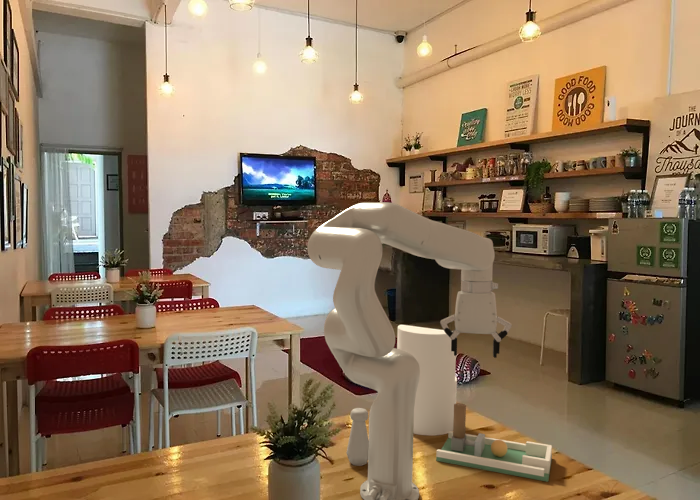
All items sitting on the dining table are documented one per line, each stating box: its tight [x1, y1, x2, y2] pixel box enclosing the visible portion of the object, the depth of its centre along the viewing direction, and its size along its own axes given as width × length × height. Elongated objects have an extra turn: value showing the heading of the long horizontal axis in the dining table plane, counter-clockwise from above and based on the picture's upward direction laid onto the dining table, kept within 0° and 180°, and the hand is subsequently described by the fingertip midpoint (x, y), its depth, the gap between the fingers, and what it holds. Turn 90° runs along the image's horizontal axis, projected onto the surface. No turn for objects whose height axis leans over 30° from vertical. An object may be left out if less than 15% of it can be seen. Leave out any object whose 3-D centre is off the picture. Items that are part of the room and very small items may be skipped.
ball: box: [491, 439, 508, 457], centre depth 140 cm, size 4×4×4 cm
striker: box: [451, 402, 486, 457], centre depth 142 cm, size 6×8×11 cm
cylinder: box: [396, 324, 458, 436], centre depth 163 cm, size 17×17×28 cm
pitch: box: [435, 431, 553, 483], centre depth 140 cm, size 14×26×4 cm, turn 67°
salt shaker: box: [346, 407, 369, 467], centre depth 137 cm, size 6×6×13 cm
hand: (474, 355), depth 141 cm, fingers open, 9 cm apart
